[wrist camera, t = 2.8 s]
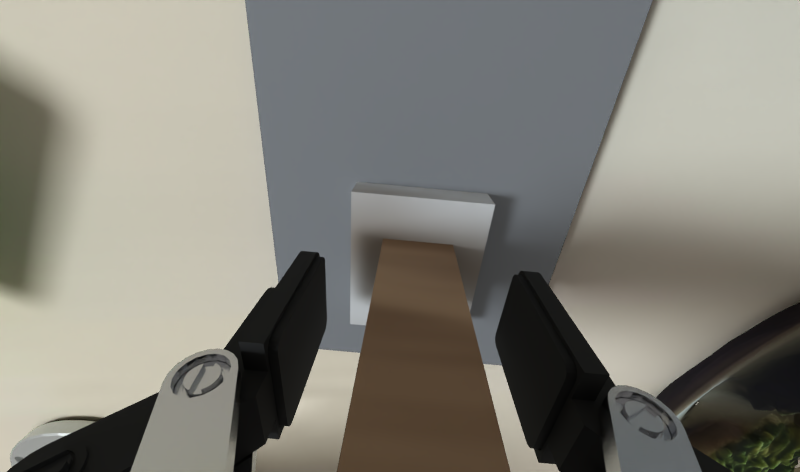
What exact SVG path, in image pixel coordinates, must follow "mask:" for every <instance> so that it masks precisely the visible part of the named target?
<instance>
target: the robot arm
mask: <svg viewBox="0 0 800 472" xmlns="http://www.w3.org/2000/svg"><path fill="white" fill-rule="evenodd" d="M326 325H327V301H326V272H325V258H324V257H320V255H319V253H318V252H309V251H301V252H300V253H299V254H298V255H297V257H296V258H295V260H294V261H293V263H292V264H291V266H290V267H289V269H288V270H287V271H286V273H285V274H284V276H283V277H282V279H281V280H280V282H279V283H278V285H277V286H276V287H275V288H272V287H271V288H268V289H267V290H266V291H265V293H264V294H263V296H262V297H261V298H260V300H259V301H258V302H257V304H256V305H255V307H254V308H253V309H252V311H251V312H250V314H249V315H248V316H247V318H246V319H245V320H244V322H243V323H242V325H241V326H240V327H239V329H238V330H237V332H236V333H235V334H234V336H233V337H232V338H231V340H230V341H229V343H228V344H227V345H226V347H225V348H224V349H209V350H205V351H201V352H197V353H195V354H193V355H191V356H189V357H187V358H185V359H184V360H182V361H181V362H179V363H178V364H177V365H175V366H174V367H173V368H172V369H171V371H170V372H169V373H168V374H167V376H166V377H165V379H164V381H163V383H162V386H161V389H160V391H159V392H158V393H156V394H154V395H152V396H150V397H148V398H145V399H143V400H141V401H139V402H137V403H135V404H133V405H130V406H128V407H126V408H124V409H122V410H120V411H118V412H115V413H113V414H111V415H109V416H107V417H105V418H103V419H100V420H98V421H87V420H63V421H56V422H50V423H47V424H44V425H41V426H38V427H36V428H35V429H34V430H32V431H31V432H29V433H28V434H27V435H26V436H25V437H24V438H23V439H22V440H21V441H19V442H18V443H17V445H16V446H15V447H14V448H13V449H12V452H11V455H10V460H11V466H12V468H10V469H9V470H8V471H7V472H256V453H257V449H258V448H260V447H261V446H263V445H264V444H266V441H267V439H268V438H271V439H279V438H280V435H281V433H282V430H283V428H284V426H290V425H291V423H292V421H293V418H294V415H295V413H296V410H297V407H298V404H299V402H300V399H301V396H302V393H303V391H304V388H305V385H306V382H307V380H308V377H309V374H310V371H311V368H312V366H313V363H314V360H315V357H316V355H317V352H318V349H319V346H320V344H321V341H322V338H323V335H324V333H325V330H326ZM495 344H496V348H497V351H498V354H499V357H500V360H501V363H502V367H503V370H504V373H505V376H506V379H507V382H508V385H509V389H510V392H511V395H512V398H513V401H514V404H515V407H516V410H517V414H518V417H519V420H520V423H521V426H522V429H523V432H524V435H525V439H526V442H527V444H528V446H529V447H530V448H534V450H535V453H536V456H537V459H538V462H539V463H549V464H556V465H557V467H558V470H559V471H560V472H732V471H731V470H729V469H727V468H726V467H724V466H723V465H721V464H720V463H718V462H716V461H715V460H713V459H712V458H710V457H709V456H707V455H705V454H704V453H702V452H701V451H699V450H698V449H696V448H694V447H693V446H691V443H690V441H689V438H688V436H687V434H686V431H685V429H684V427H683V425H682V424H681V422H680V420H679V419H678V418H677V416H676V415H675V414H674V413H673V412H672V411H671V410H670V409H669V408H668V407H667V406H666V405H665V404H663V403H662V402H661V401H660V400H658V399H657V398H655V397H653V396H652V395H650V394H649V393H647V392H644V391H642V390H640V389H638V388H634V387H631V386H625V385H618V386H615V384H614V383H613V381H612V380H611V378H610V377H609V373H608V372H607V370H606V369H605V367H604V366H603V364H602V363H601V362H600V360H599V359H598V357H597V356H596V354H595V353H594V351H593V350H592V348H591V347H590V345H589V344H588V343H587V341H586V340H585V338H584V337H583V335H582V334H581V332H580V331H579V329H578V328H577V326H576V325H575V323H574V322H573V321H572V319H571V318H570V316H569V315H568V313H567V312H566V310H565V309H564V307H563V306H562V304H561V303H560V301H559V300H558V299H557V297H556V296H555V294H554V293H553V291H552V290H551V288H550V287H549V285H548V284H547V282H546V281H545V280H544V278H543V277H542V275H541V274H540V273H539V272H530V271H520V272H519V273H518V275H516V274H515V275H514V276H513V278H512V281H511V284H510V287H509V291H508V294H507V297H506V301H505V304H504V308H503V311H502V314H501V318H500V321H499V324H498V328H497V331H496V335H495Z"/></svg>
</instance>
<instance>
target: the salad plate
mask: <svg viewBox="0 0 800 472" xmlns="http://www.w3.org/2000/svg"><path fill="white" fill-rule="evenodd" d="M656 398H657V399H658V400H660V401H661V402H662V403H663V404H665V405H666V406H667V407H668V408H669V409H670V410H671V411H672V412H673V413H674V414H675V415H676V416H677V418H678V419H679V420H680V422H681V424H682V425H683V427H684V429H685V431H686V434H687V436H688V438H689V441H690V443H691V446H693V447H694V448H696V449H698V450H699V451H701V452H702V453H704V454H705V455H707V456H709V457H710V458H712V459H713V460H715V461H716V462H718V463H720V464H721V465H723V466H724V467H726V468H727V469H729V470H731V471H732V472H800V467H799V468H795V466H796V465H797V464H798V459H800V303H798V304H796V305H793V306H791V307H789V308H787V309H785V310H783V311H781V312H779V313H777V314H775V315H773V316H772V317H770V318H768V319H766V320H765V321H763V322H761V323H760V324H758V325H756V326H755V327H753V328H752V329H750V330H748V331H747V332H745V333H743V334H741V335H740V336H738V337H736V338H735V339H733V340H731V341H730V342H728V343H727V344H726V345H724V346H723V347H721V348H720V349H719V350H717V351H716V352H715V353H713V354H712V355H711V356H709V357H708V358H706V359H705V360H703V361H702V362H701V363H699V364H698V365H696V366H695V367H693V368H692V369H690V370H689V371H687V372H686V373H685V374H683V375H682V376H681V377H679V378H678V379H677V380H675V381H674V382H672V383H671V384H670V385H669V386H668V387H667V388H665V389H664V390H663V391H662V392H661V393H660V394H659V395H658V396H657V397H656ZM697 402H699V403H698V404H697V405H695V404H696V403H697Z"/></svg>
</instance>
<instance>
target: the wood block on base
mask: <svg viewBox="0 0 800 472" xmlns="http://www.w3.org/2000/svg"><path fill="white" fill-rule="evenodd" d="M494 208H495V204H494V202H493V201H492V199H491V198H490V196H489V195H488V194H485V193H474V192H463V191H452V190H441V189H430V188H419V187H408V186H397V185H385V184H374V183H363V182H357V183H356V185H355V186H354V188H353V190H352V191H351V276H350V324H355V325H366V327H365V332H364V337H363V343H362V348H361V353H360V358H359V363H358V368H357V373H356V378H355V383H354V388H353V393H352V398H351V403H350V408H349V413H348V418H347V423H346V428H345V433H344V438H343V443H342V448H341V453H340V458H339V464H338V469H337V472H510V468H509V464H508V461H507V457H506V453H505V449H504V445H503V441H502V437H501V433H500V429H499V425H498V421H497V417H496V413H495V409H494V405H493V401H492V397H491V393H490V389H489V385H488V381H487V378H486V374H485V370H484V366H483V362H482V358H481V354H480V350H479V346H478V342H477V338H476V334H475V330H474V326H473V322H472V318H471V314H470V310H471V306H472V301H473V297H474V293H475V289H476V284H477V280H478V276H479V272H480V267H481V263H482V259H483V255H484V250H485V246H486V242H487V238H488V233H489V229H490V225H491V221H492V216H493V212H494Z"/></svg>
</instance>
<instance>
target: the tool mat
mask: <svg viewBox="0 0 800 472" xmlns="http://www.w3.org/2000/svg"><path fill="white" fill-rule="evenodd" d="M652 1H653V0H245V3H246V12H247V20H248V29H249V37H250V46H251V54H252V62H253V71H254V79H255V88H256V96H257V105H258V113H259V121H260V130H261V138H262V147H263V155H264V164H265V172H266V180H267V189H268V197H269V206H270V214H271V223H272V231H273V239H274V248H275V256H276V265H277V273H278V282H280V280H281V279H282V277H283V276H284V274H285V273H286V271H287V270H288V269H289V267H290V266H291V264H292V263H293V261H294V260H295V258H296V257H297V255H298V254H299V253H300V252H301V251H309V252H318V253H319V255H320V257H324V258H325V272H326V301H327V325H326V330H325V333H324V335H323V338H322V341H321V344H320V346H319V349H325V350H336V351H347V352H358V353H361V348H362V343H363V337H364V332H365V327H366V325H355V324H350V276H351V191H352V190H353V188H354V186H355V185H356V183H357V182H363V183H374V184H385V185H397V186H408V187H419V188H430V189H441V190H452V191H463V192H474V193H485V194H488V195H489V196H490V198H491V199H492V201H493V202H494V204H495V208H494V212H493V216H492V221H491V225H490V229H489V233H488V238H487V242H486V246H485V250H484V255H483V259H482V263H481V267H480V272H479V276H478V280H477V284H476V289H475V293H474V297H473V301H472V306H471V310H470V314H471V318H472V322H473V326H474V330H475V334H476V338H477V342H478V346H479V350H480V354H481V358H482V362H483V364H492V365H502V363H501V360H500V357H499V354H498V351H497V348H496V344H495V335H496V331H497V328H498V324H499V321H500V318H501V314H502V311H503V308H504V304H505V301H506V297H507V294H508V291H509V287H510V284H511V281H512V278H513V276H514V275H515V274H516V275H518V273H519V272H520V271H530V272H539V273H540V274H541V275H542V277H543V278H544V280H545V281H546V282H547V284H548V285H549V282H550V280H551V277H552V274H553V271H554V269H555V266H556V263H557V260H558V258H559V255H560V252H561V250H562V247H563V244H564V241H565V239H566V236H567V233H568V230H569V228H570V225H571V222H572V219H573V217H574V214H575V211H576V208H577V206H578V203H579V200H580V198H581V195H582V192H583V189H584V187H585V184H586V181H587V178H588V176H589V173H590V170H591V167H592V165H593V162H594V159H595V157H596V154H597V151H598V148H599V146H600V143H601V140H602V137H603V135H604V132H605V129H606V126H607V124H608V121H609V118H610V115H611V113H612V110H613V107H614V105H615V102H616V99H617V96H618V94H619V91H620V88H621V85H622V83H623V80H624V77H625V74H626V72H627V69H628V66H629V63H630V61H631V58H632V55H633V53H634V50H635V47H636V44H637V42H638V39H639V36H640V33H641V31H642V28H643V25H644V22H645V20H646V17H647V14H648V11H649V9H650V6H651V3H652Z"/></svg>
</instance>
